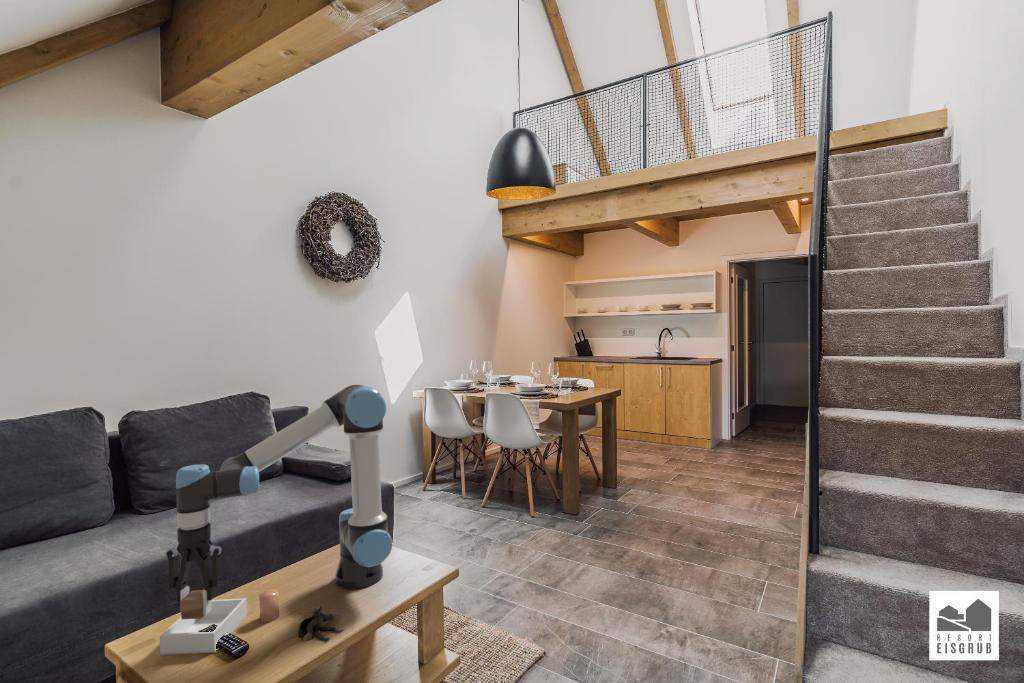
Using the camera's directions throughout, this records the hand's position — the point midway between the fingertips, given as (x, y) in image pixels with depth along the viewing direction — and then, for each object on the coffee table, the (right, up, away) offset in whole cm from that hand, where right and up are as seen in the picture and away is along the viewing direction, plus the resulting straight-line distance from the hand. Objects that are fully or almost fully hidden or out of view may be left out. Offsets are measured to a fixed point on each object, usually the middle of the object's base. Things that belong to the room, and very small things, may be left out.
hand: (196, 612), depth 136 cm
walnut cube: (0, 0, 0) cm, 0 cm away
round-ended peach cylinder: (+14, -8, +12) cm, 20 cm away
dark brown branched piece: (+30, -8, +5) cm, 32 cm away
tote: (0, -8, +4) cm, 9 cm away
